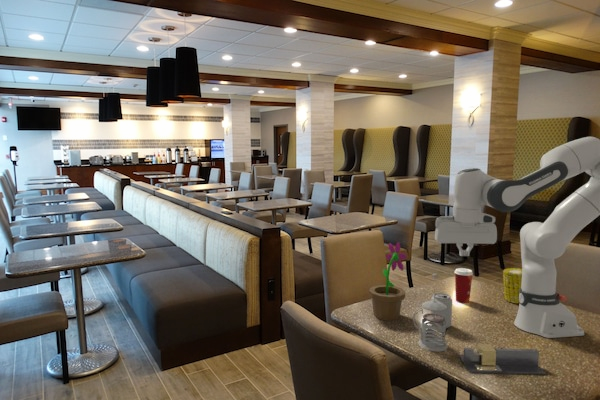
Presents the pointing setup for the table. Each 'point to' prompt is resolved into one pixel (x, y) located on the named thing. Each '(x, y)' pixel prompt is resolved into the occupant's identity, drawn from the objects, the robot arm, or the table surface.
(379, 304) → the flowerpot
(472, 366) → the rail
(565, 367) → the table surface
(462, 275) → the paper cup
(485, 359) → the clip
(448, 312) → the can
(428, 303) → the french press
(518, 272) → the food
